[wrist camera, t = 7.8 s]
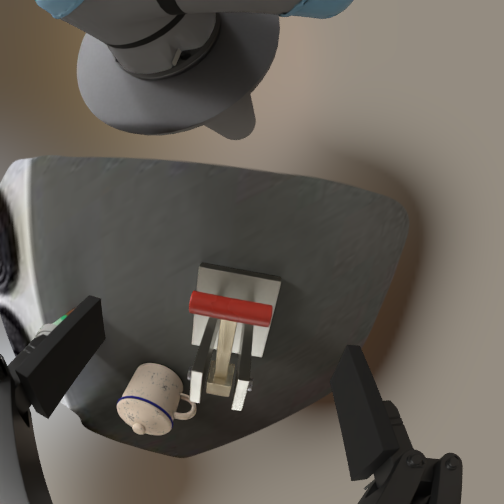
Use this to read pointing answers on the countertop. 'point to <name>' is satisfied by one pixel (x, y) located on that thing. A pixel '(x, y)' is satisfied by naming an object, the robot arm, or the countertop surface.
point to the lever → (227, 332)
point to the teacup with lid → (153, 400)
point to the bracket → (246, 336)
